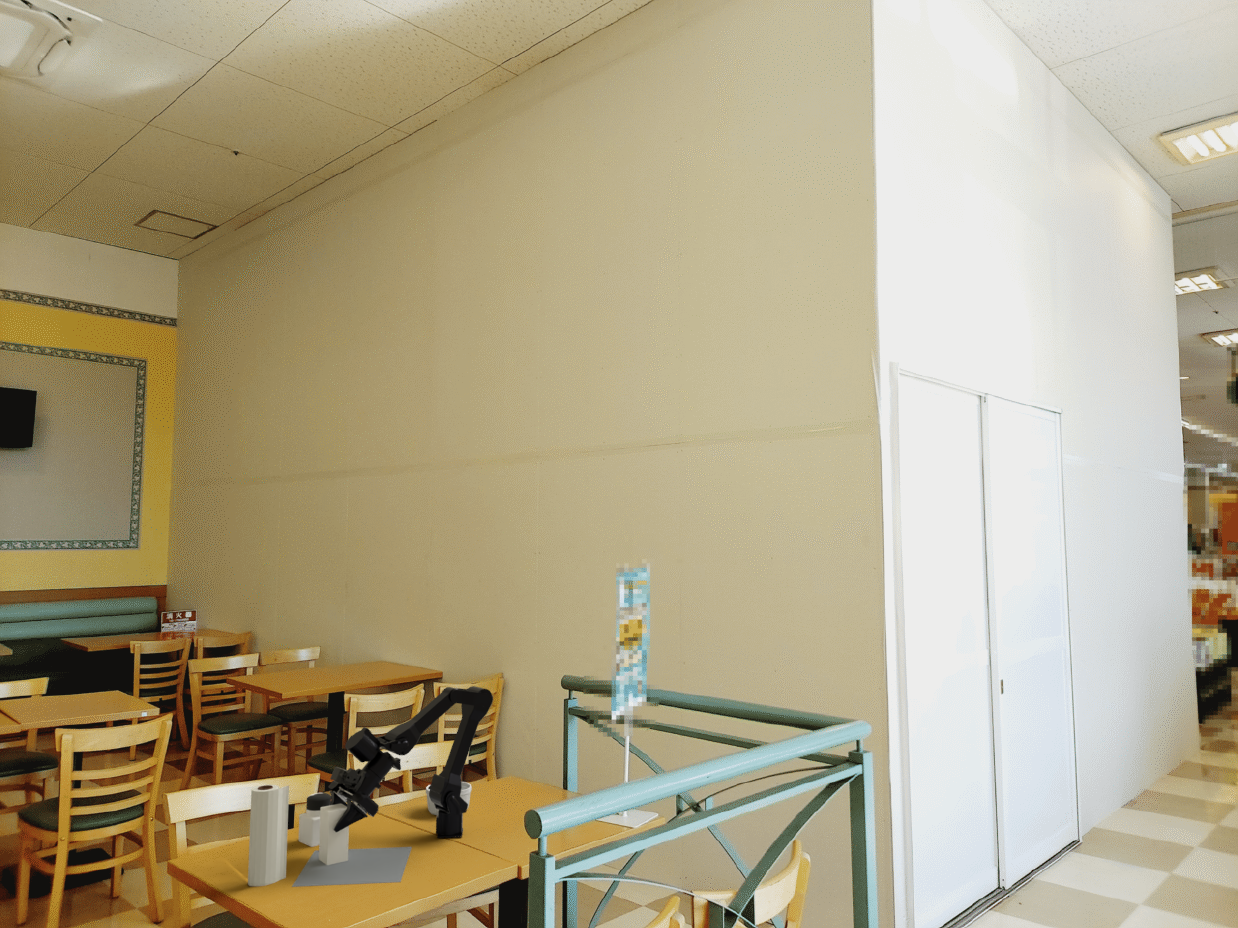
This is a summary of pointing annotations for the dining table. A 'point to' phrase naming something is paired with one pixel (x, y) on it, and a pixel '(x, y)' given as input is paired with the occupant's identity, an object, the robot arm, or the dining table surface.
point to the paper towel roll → (268, 834)
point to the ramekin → (464, 795)
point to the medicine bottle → (312, 819)
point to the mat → (356, 868)
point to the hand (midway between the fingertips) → (329, 827)
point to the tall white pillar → (332, 835)
